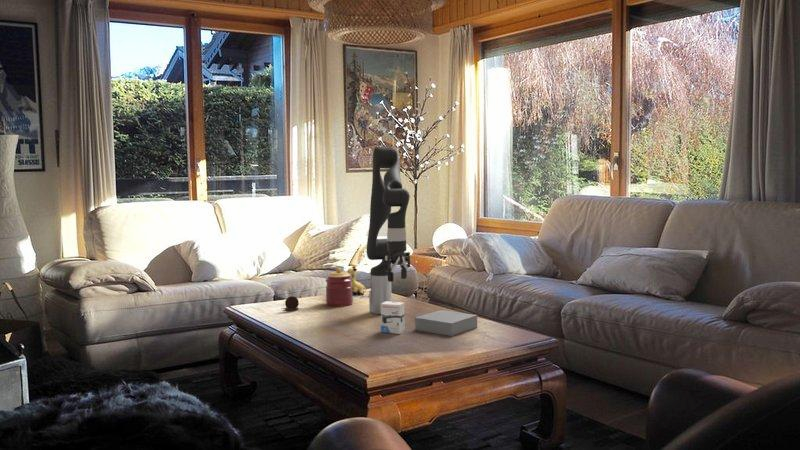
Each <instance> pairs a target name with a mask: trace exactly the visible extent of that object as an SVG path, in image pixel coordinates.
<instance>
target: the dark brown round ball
mask: <svg viewBox="0 0 800 450" xmlns="http://www.w3.org/2000/svg"><path fill="white" fill-rule="evenodd" d="M299 303H300V302H299V299H298V298H297V297H296V296H293V295H289V296H287V298H286V299H285V301H284V304H285V307H281V308H280V309H281V310H285V311H287V312H292V311H293V312H294V311H295V312H296V311H298V310H299Z"/></svg>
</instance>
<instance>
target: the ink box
mask: <svg viewBox="0 0 800 450" xmlns="http://www.w3.org/2000/svg"><path fill="white" fill-rule="evenodd" d="M405 324H406V323H405V302H403V301H402V302H399V301H392V302H391V301H385V302H383V303H381V314H380V333H385V334H397V335H401V334H402V333H404V332H405Z"/></svg>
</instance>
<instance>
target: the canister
mask: <svg viewBox="0 0 800 450" xmlns="http://www.w3.org/2000/svg"><path fill="white" fill-rule="evenodd" d="M352 280H353V279H352V276H351V274H349V273H348V272H347V271H344V270H342V268H341V267H337V268H336V270H335V271H332V272H330V273H328V274H327V278H326V279H325V282H326V286H325V294H326V295H325V298H326V299H325V303H326V305H327V306H329V307H348V306H351V305H353V303H354V298H353V293H352V287H353V286H352Z"/></svg>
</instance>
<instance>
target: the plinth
mask: <svg viewBox="0 0 800 450" xmlns="http://www.w3.org/2000/svg"><path fill="white" fill-rule="evenodd" d="M476 328H478V314H471V313H465V312H456V311H450V310H443V309H439V310H436V311H433V312H429V313H425V314H423V315H419V316H416V317H414V331H420V332H425V333H433V334H437V335H438V334H439V335H442V336H443V335H444V336H449V337H453V336H456V335H459V334H462V333H465V332H467V331H470V330H473V329H476Z"/></svg>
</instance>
